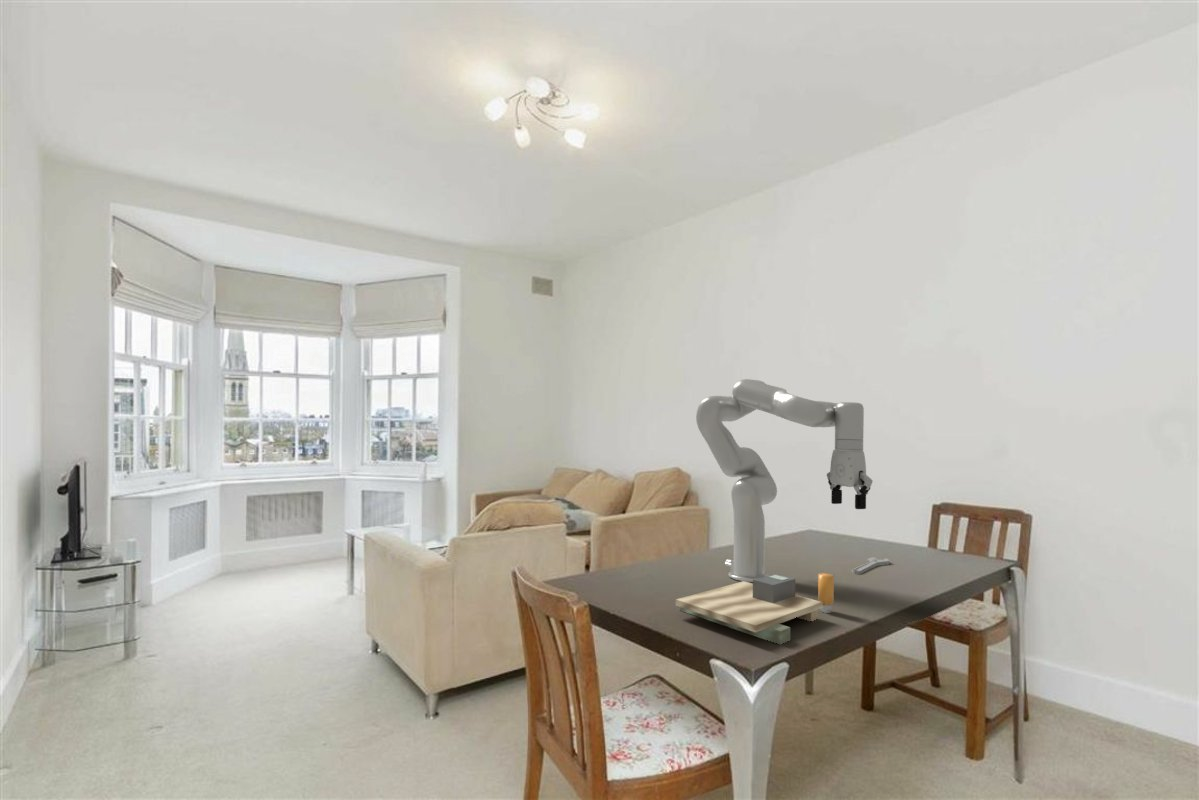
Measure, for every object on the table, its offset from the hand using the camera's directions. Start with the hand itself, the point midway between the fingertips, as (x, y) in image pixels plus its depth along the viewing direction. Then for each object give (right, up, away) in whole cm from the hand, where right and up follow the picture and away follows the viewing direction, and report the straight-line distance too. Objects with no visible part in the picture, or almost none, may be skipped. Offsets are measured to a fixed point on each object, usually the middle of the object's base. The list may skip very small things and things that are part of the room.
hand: (848, 506), depth 172 cm
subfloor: (-33, -25, -20) cm, 46 cm away
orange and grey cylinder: (-11, -25, -13) cm, 31 cm away
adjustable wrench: (+21, -28, +36) cm, 50 cm away
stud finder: (-26, -21, -16) cm, 36 cm away
